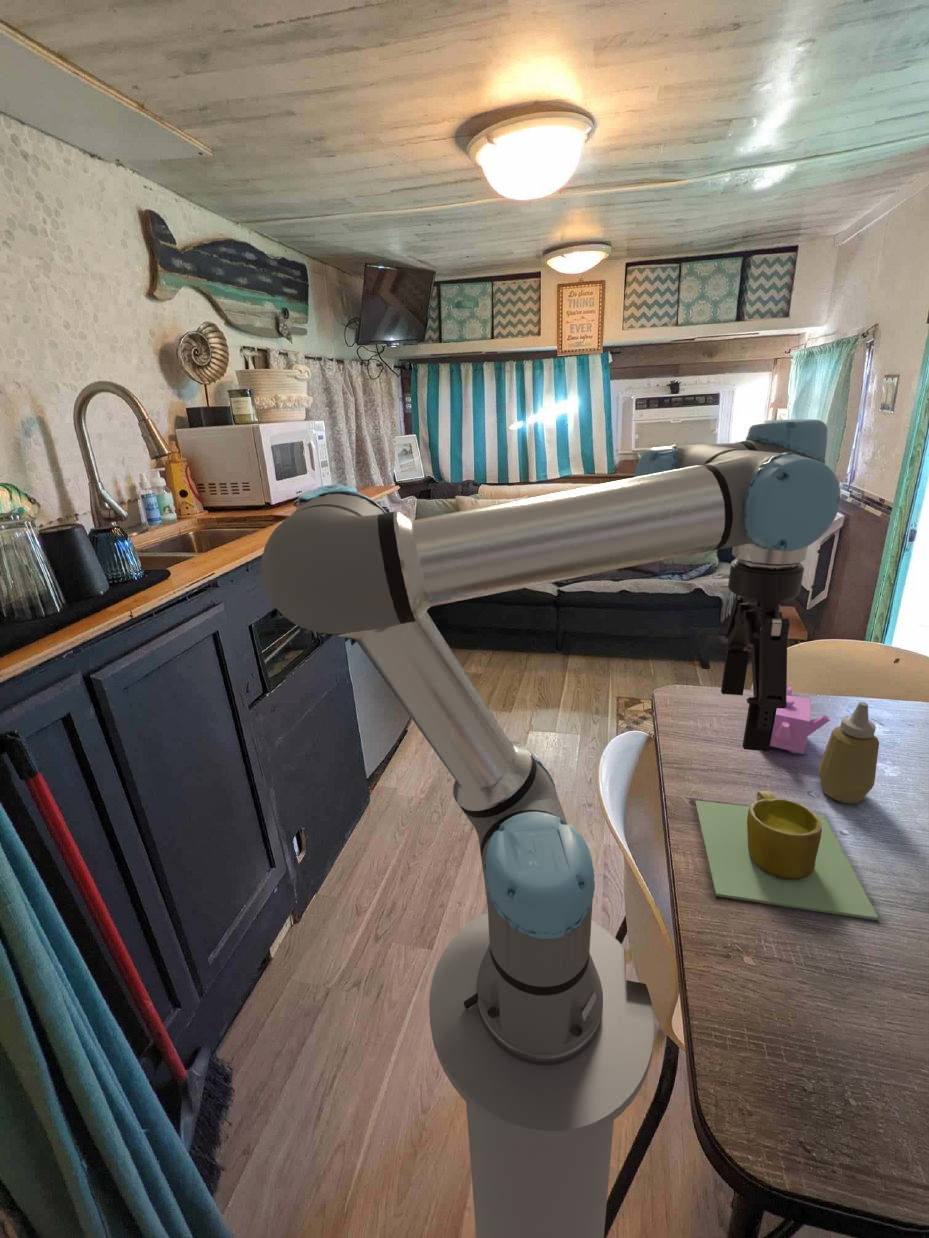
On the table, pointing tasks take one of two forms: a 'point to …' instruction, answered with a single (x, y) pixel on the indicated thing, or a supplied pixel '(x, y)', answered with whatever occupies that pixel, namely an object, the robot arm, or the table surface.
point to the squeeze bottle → (850, 758)
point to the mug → (783, 836)
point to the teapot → (794, 724)
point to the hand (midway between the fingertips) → (742, 718)
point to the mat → (745, 880)
